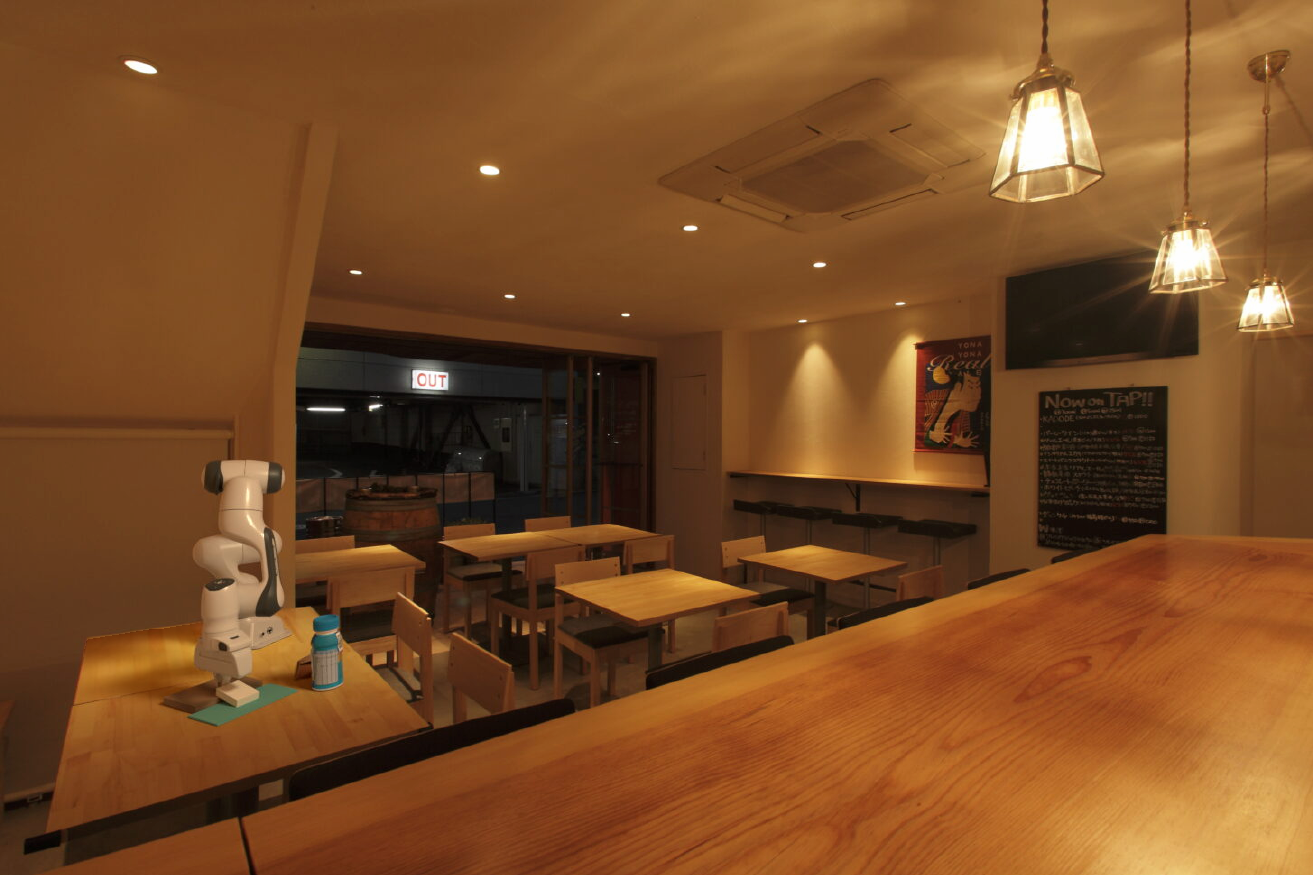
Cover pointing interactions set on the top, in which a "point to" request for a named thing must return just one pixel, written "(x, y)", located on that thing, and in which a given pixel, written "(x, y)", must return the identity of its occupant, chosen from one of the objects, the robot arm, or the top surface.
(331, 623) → the beverage bottle
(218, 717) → the mat
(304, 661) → the sunglasses case
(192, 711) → the brown wooden board
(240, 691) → the tile
